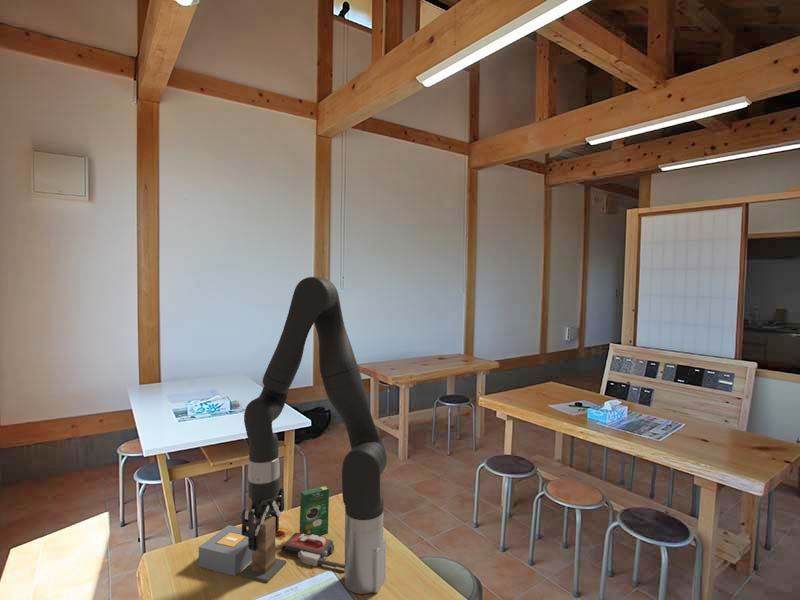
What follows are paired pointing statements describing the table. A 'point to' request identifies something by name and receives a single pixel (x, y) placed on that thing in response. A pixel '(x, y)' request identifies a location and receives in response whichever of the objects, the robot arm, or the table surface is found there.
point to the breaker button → (231, 539)
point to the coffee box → (314, 511)
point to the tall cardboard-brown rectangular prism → (265, 546)
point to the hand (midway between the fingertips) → (264, 540)
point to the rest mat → (263, 576)
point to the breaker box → (225, 553)
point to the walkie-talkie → (311, 549)
